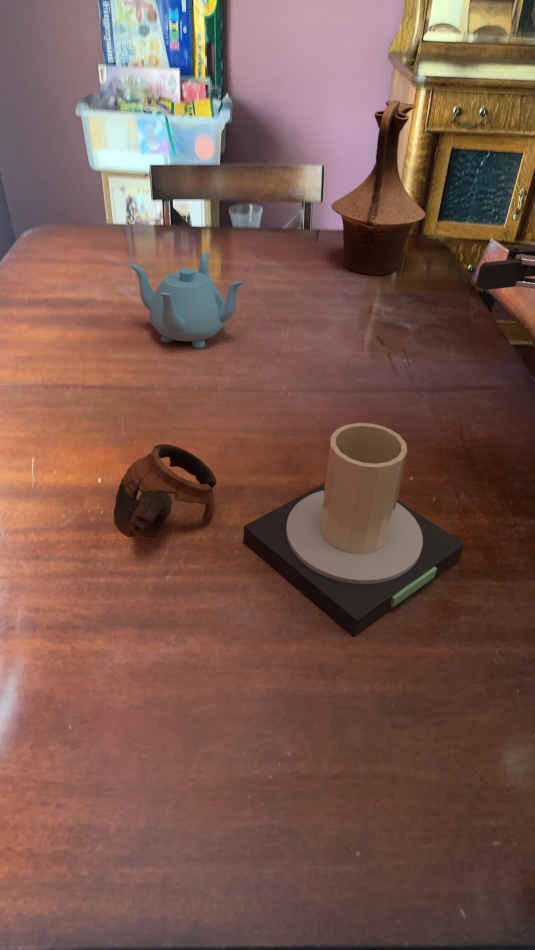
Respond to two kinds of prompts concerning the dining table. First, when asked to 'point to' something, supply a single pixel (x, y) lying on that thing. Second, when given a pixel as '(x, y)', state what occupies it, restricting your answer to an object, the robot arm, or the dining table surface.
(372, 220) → the pitcher
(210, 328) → the teapot
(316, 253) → the dining table surface
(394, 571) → the scale
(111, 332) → the dining table surface
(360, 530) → the cup
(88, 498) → the dining table surface
